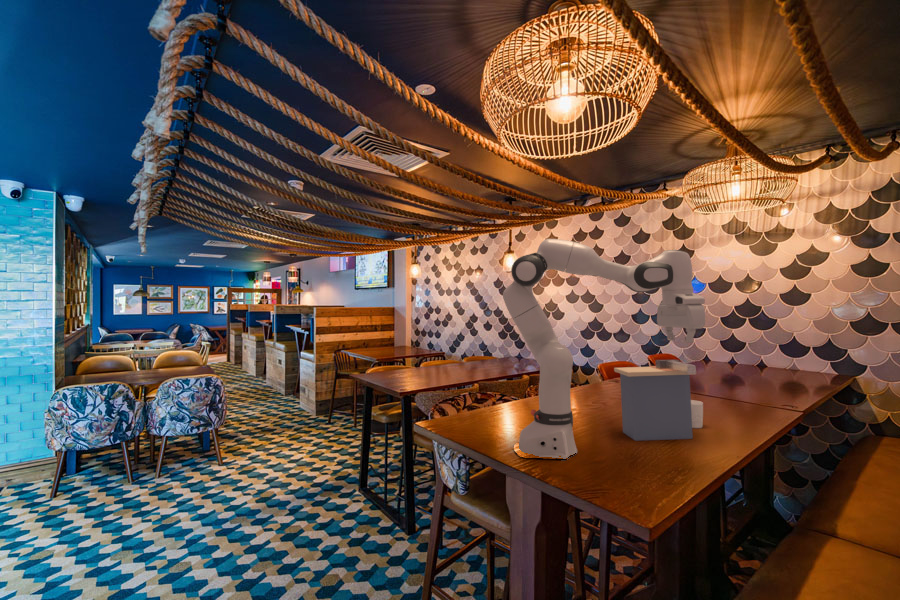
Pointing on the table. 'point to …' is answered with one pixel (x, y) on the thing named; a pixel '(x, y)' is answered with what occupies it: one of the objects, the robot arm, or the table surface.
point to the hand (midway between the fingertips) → (679, 341)
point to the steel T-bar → (676, 366)
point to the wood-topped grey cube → (655, 403)
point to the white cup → (697, 414)
